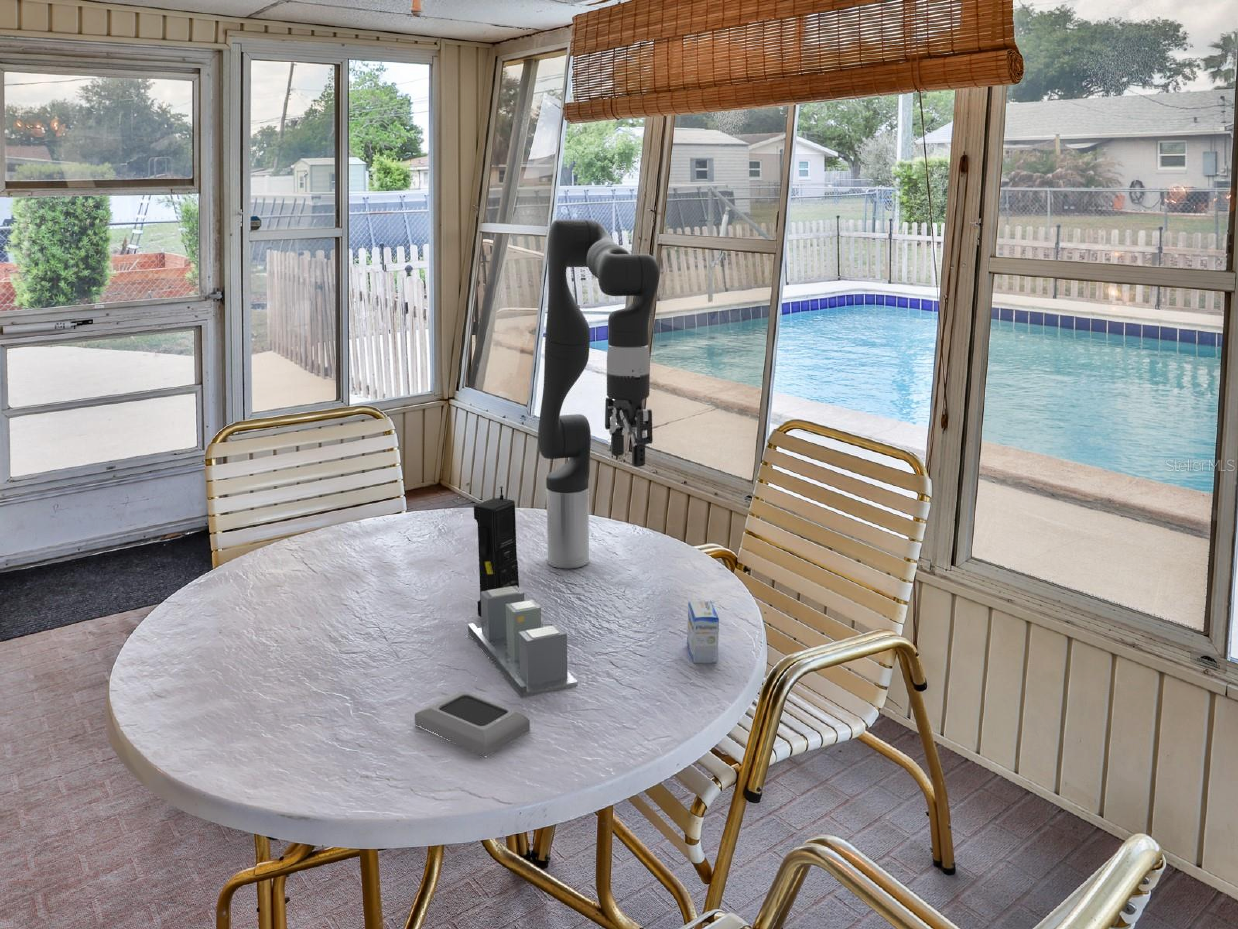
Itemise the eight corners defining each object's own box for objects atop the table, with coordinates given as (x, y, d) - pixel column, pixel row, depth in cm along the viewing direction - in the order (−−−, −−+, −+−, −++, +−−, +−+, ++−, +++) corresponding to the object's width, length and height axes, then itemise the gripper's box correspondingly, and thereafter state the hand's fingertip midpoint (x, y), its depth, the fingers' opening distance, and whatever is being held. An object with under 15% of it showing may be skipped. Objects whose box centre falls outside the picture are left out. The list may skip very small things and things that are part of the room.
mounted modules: (481, 632, 190) (480, 590, 188) (517, 625, 193) (516, 584, 191) (528, 686, 169) (527, 640, 167) (567, 677, 172) (566, 632, 170)
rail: (468, 634, 191) (468, 624, 191) (519, 624, 196) (518, 615, 195) (521, 698, 167) (520, 687, 166) (577, 686, 171) (577, 675, 171)
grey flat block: (459, 684, 165) (529, 711, 156) (460, 704, 166) (530, 733, 157) (414, 706, 157) (485, 736, 149) (415, 728, 158) (486, 759, 150)
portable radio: (498, 625, 195) (494, 499, 189) (473, 619, 198) (468, 494, 192) (523, 612, 202) (520, 489, 195) (499, 605, 205) (495, 484, 198)
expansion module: (506, 651, 182) (505, 603, 180) (533, 646, 184) (532, 598, 182) (514, 660, 179) (513, 611, 176) (541, 655, 181) (540, 606, 178)
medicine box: (686, 645, 187) (687, 600, 185) (710, 644, 187) (712, 599, 185) (693, 664, 179) (694, 617, 177) (718, 663, 180) (719, 616, 178)
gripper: (591, 366, 184) (592, 454, 189) (626, 378, 172) (626, 472, 176) (629, 363, 188) (629, 449, 192) (666, 375, 175) (665, 467, 179)
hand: (627, 460), depth 184 cm, fingers open, 8 cm apart
